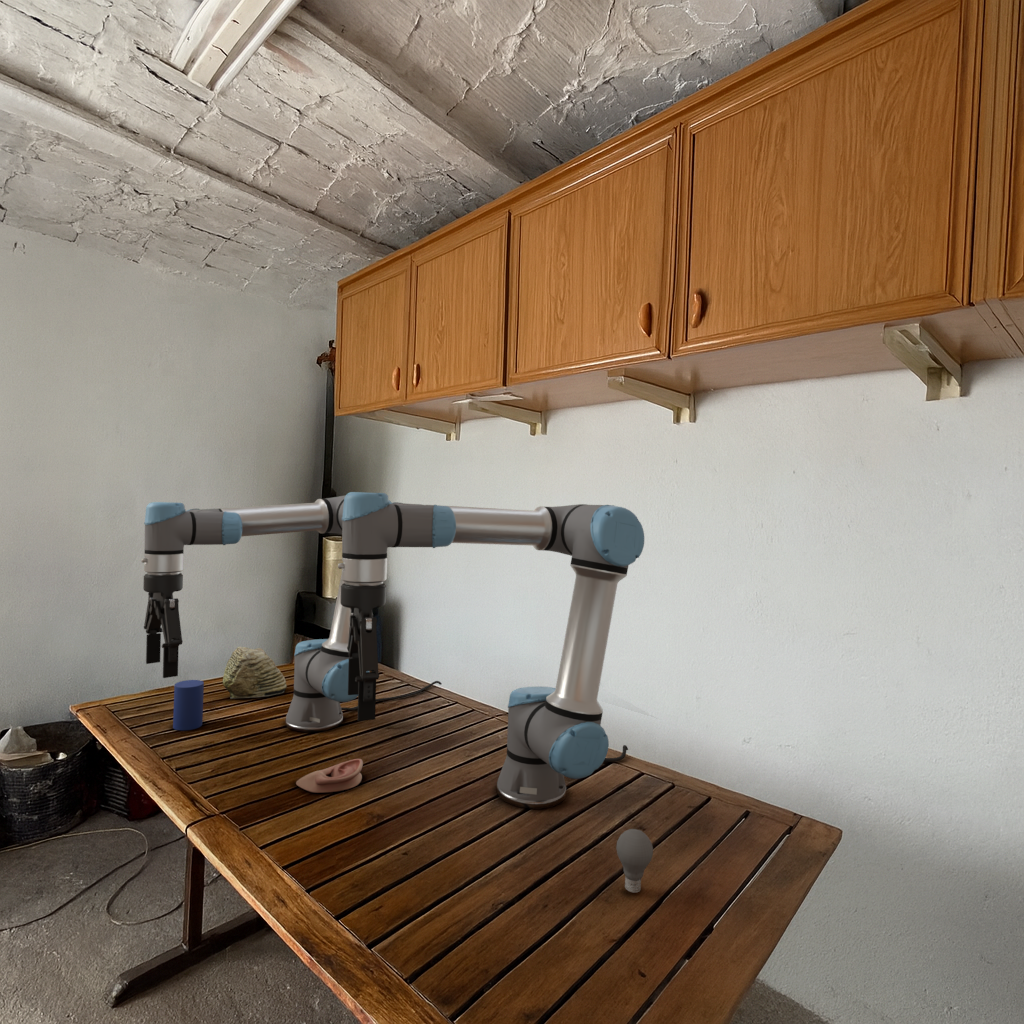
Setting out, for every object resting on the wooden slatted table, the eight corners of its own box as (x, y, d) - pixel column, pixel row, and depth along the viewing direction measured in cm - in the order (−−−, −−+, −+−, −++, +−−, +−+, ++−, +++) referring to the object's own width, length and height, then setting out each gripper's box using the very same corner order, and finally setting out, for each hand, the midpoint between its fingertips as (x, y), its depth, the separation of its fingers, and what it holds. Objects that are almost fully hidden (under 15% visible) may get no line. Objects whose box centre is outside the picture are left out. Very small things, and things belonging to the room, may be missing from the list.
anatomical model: (289, 770, 136) (316, 750, 147) (288, 789, 136) (315, 767, 147) (346, 778, 133) (369, 757, 145) (345, 797, 133) (368, 774, 145)
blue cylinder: (167, 726, 169) (168, 684, 169) (192, 719, 175) (194, 678, 175) (182, 732, 165) (184, 689, 165) (207, 725, 171) (209, 683, 171)
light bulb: (610, 879, 108) (613, 822, 108) (644, 879, 109) (647, 822, 109) (619, 902, 102) (622, 840, 102) (655, 901, 103) (658, 840, 103)
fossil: (218, 695, 195) (220, 647, 195) (278, 685, 208) (279, 640, 207) (228, 703, 189) (230, 653, 188) (289, 692, 201) (290, 645, 201)
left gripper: (130, 567, 145) (128, 659, 145) (160, 580, 126) (157, 686, 127) (166, 565, 150) (164, 655, 150) (200, 578, 131) (197, 680, 132)
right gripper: (334, 573, 118) (331, 686, 119) (349, 594, 95) (346, 734, 95) (374, 573, 121) (371, 683, 121) (399, 593, 98) (396, 729, 98)
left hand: (161, 669), depth 139 cm, fingers open, 13 cm apart
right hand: (360, 706), depth 108 cm, fingers open, 13 cm apart
